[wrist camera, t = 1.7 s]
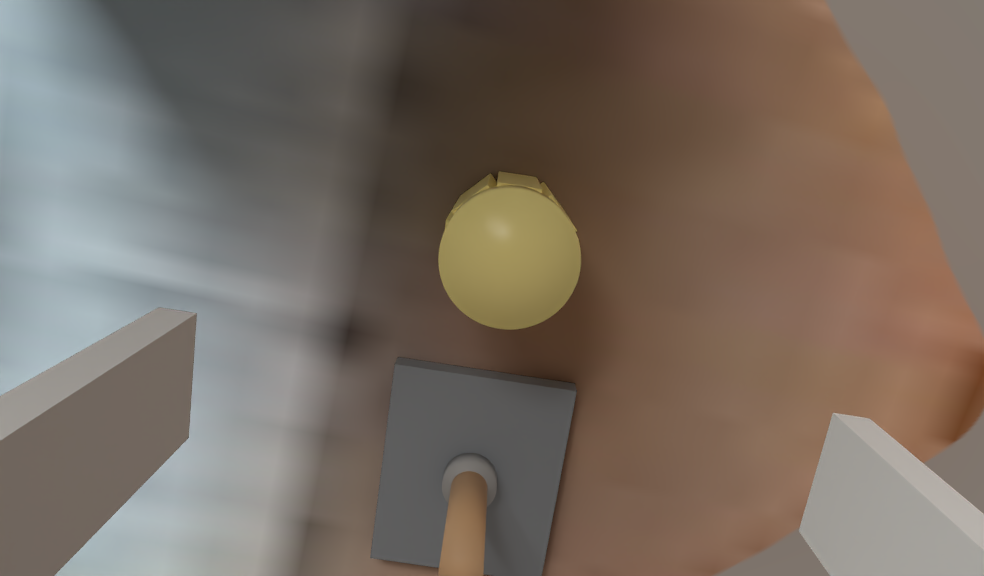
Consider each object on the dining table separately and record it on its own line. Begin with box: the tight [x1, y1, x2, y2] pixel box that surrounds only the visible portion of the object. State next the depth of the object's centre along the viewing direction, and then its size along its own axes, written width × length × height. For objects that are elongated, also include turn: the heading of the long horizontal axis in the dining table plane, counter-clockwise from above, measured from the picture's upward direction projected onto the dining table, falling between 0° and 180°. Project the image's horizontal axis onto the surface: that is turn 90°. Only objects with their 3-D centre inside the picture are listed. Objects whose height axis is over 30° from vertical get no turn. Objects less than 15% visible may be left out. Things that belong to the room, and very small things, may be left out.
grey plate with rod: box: [370, 357, 577, 576], centre depth 37 cm, size 12×10×10 cm
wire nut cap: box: [438, 171, 581, 330], centre depth 35 cm, size 6×6×8 cm
